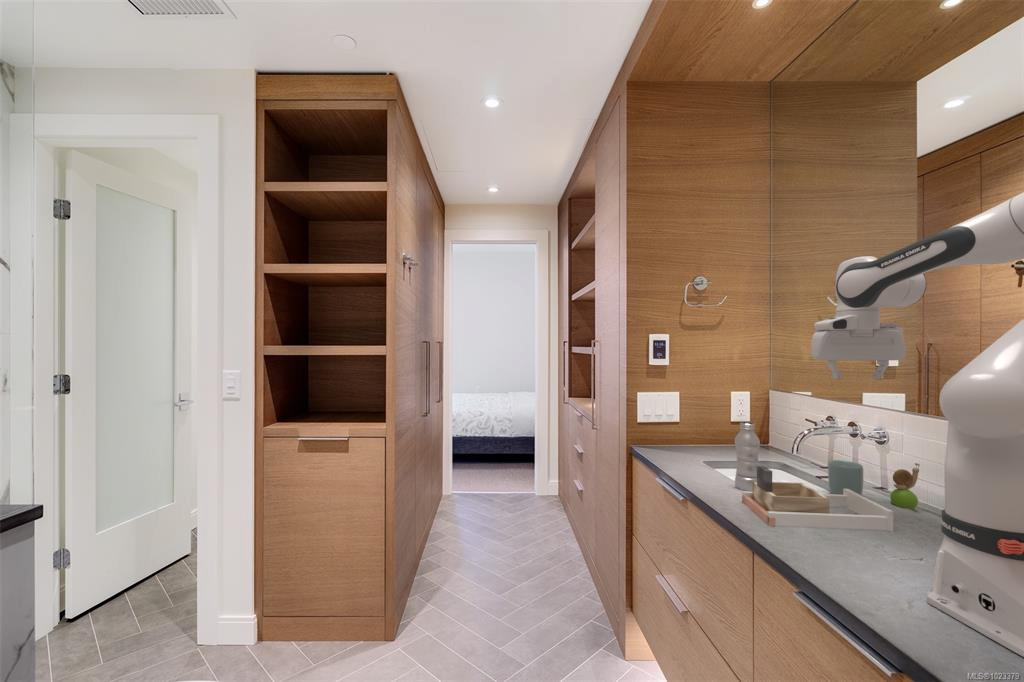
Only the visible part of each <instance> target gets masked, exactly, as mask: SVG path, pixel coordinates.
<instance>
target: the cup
mask: <svg viewBox="0 0 1024 682" xmlns="http://www.w3.org/2000/svg"><path fill="white" fill-rule="evenodd" d="M827 477H828V487H829V492H830V494H836V495H843V489H850V490H852V491H853V492H855V493H857V494H859V495H861V496H863V491H864V466H863V465H862V464H861V463H858V462H854V461H848V460H838V459H837V460H836V459H835V460H834V459H833V460H829V461H828V463H827Z"/></svg>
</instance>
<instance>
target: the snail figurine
mask: <svg viewBox="0 0 1024 682" xmlns="http://www.w3.org/2000/svg"><path fill="white" fill-rule="evenodd" d="M914 465H915V467H913V468H912V473H911V472H910V471H908V470H907V469H902V468H901V469H897V470H895V471H894V473H893V475H892V480H893V483H894V484H893V486H894V488H896V489H893V491H891V493H890V495H889V496H890V497H889V498H890V502H891V504H892V505H894V506H896V507H899V508H904V509H908V510H911V511H913V510H915V509H916V508H917V506H918V504H919V499H918V496H917V495H916V494H915V493H914V492H913V491H912V490H910V489H912V488H914V487H915V486H916V484H917V481H918V478H919V477H918V476H919V473H920V469H919V468H920V465H921V464H920V463H917V462H915V463H914Z"/></svg>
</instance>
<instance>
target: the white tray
mask: <svg viewBox="0 0 1024 682" xmlns="http://www.w3.org/2000/svg"><path fill="white" fill-rule="evenodd" d="M741 491H742V495H741V498H742V499H741V502H742V503H743V504H744V505H745V506H747V508H748V509H750V510H751V511H752V512H753V513H755V515H757V516H758V517H759V518H760V519H761V520H762V521H764V523H766V525H768V526H769V527H795V528H815V529H816V528H820V529H839V530H846V529H847V530H861V531H862V530H865V531H866V530H868V531H886V532H894V511H893V510H891V509H889V508H887V507H885V506H883V505H881V504H879V503H877V502H875V501H874V500H872V499H869V498H867V497H865V496H863V495H862V496H861V495H859V494H857V493H855V492H853V491H852V490H850V489H843V495H836V494H831V493H829V494H827V493H821V494H822V495H824V496H825V497H827V498H829V508H846V509H849V510H850V511H852V512H853V513H855V514H850V513H849V514H846V513H829V514H826V513H800V512H774V511H766V510H765V509H764V508H762V507H761V506H760V505H759V504H757V503H756V502H755V501H754V500H753V492H750V491H743V490H741Z"/></svg>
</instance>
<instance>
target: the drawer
mask: <svg viewBox="0 0 1024 682" xmlns="http://www.w3.org/2000/svg"><path fill="white" fill-rule="evenodd" d="M822 494H823V493H821V492H819V491H817V490H815V489H813V487H812V488H811V487H810V486H808V485H807V484H804V483H803V482H784V481H783V482H782V481H773V470H771V469H769V468H768V467H766V466H765V465H758V466H757V481H753V500H754V501H755V502H756V503H757V504H759V505H760V506H761V507H762V508H764V509H765V510H766V511H774V512H800V513H826V514H830V507H829V498H827V497H825V496H824V495H822Z"/></svg>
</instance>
